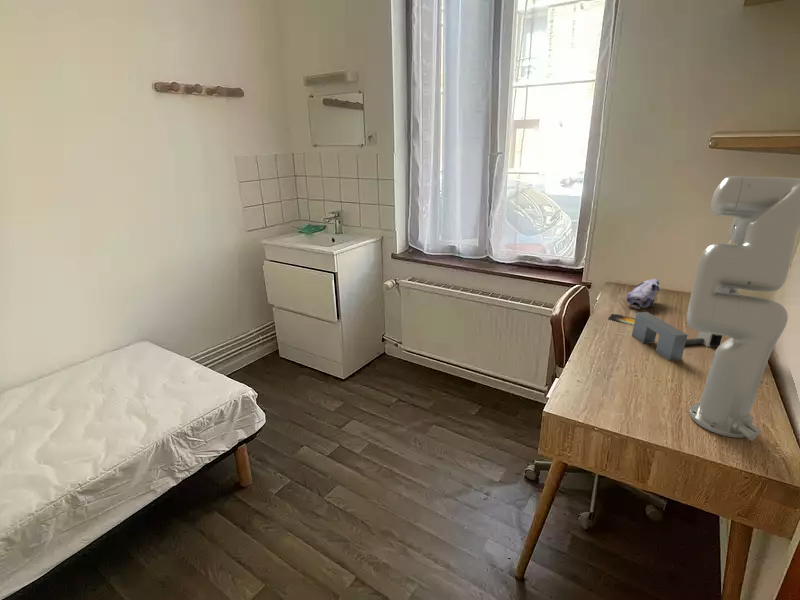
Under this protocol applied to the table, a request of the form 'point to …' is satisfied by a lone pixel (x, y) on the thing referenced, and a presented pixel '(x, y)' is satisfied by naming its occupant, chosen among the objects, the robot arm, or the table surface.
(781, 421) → the table surface
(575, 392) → the table surface
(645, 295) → the lavender lump
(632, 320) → the smartphone
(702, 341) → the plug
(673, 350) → the block
